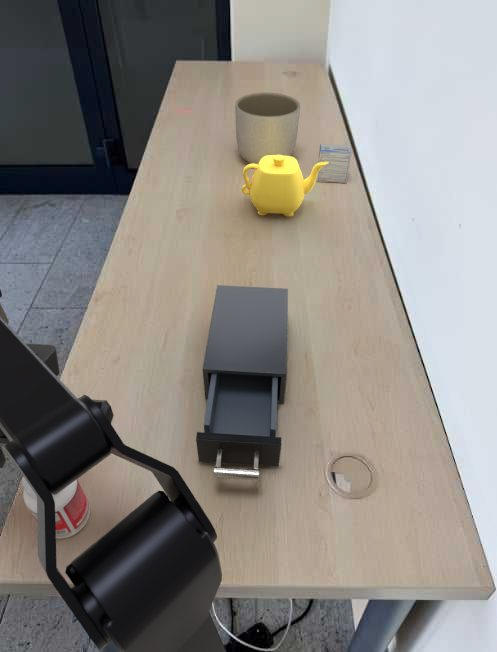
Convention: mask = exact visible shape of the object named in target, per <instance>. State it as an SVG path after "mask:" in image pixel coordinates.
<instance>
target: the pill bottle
mask: <svg viewBox="0 0 497 652" xmlns="http://www.w3.org/2000/svg"><path fill="white" fill-rule="evenodd" d="M21 483H22V484H21V485H22V488H23V492H22V493H23V494H22V495H23V501H24V504H25V506H26V508H27V509H28V510H29V512H30V513H31V514H32V516H33V517H34V519H35V520H36V521H37V496H36V494H35V492H34V491H33V489H32V488H31V486H30V485H29V483H28V482H27V481H26V479H25V478H24V476H23V475H22V479H21ZM52 496H53V499H54V502H55V524H56V539H67V538H70V537H72V536H74V535H76V534H78V533H79V532H80V531H81V530H83V528H84V527H85V526H86V525H87V523H88V521H89V518H90V514H91V505H90V502H89V500H88V498H87V496H86V494H85V492H84V489H83V487H82V486H81V484H80V482H79V480H78V479H76V480H75V481H74V482H72V483H71V484H70V485H68V486H67V487H66V488H64V489H63V490H61V491H60V492H59V493H57V494H56V495H53V494H52Z"/></svg>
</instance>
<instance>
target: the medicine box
mask: <svg viewBox="0 0 497 652" xmlns="http://www.w3.org/2000/svg"><path fill="white" fill-rule="evenodd" d="M351 158H352V147H351V145H349V144H331V143H330V144H329V143H327V144H326V143H321V144H319V151H318V161H317V163H320V162H329V163H328V164H326V165H325V166H323V167H322V168H321V169H320V171H319V172H318V175H317V178H316V182H319V183H320V182H321V183H341V184H347V182H348V176H349V169H350V164H351Z"/></svg>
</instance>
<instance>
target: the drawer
mask: <svg viewBox="0 0 497 652" xmlns="http://www.w3.org/2000/svg"><path fill="white" fill-rule="evenodd" d="M277 389H278V377H275V376H258V375H240V374H223V373H212V375H211V381H210V388H209V394H208V400H206V401H207V402H206V407H205V408H206V409H205V413H204V420H203V421H204V423H203V432H201V431H197V432H196V437H195V442H196V443H195V444H196V451H197V452H196V453H197V459H198V460H197V461H198V462H199V463H212V464H213V463H214V464H215V466H214V467H213V469H212V471H213V472H212V478H214V479H226V480H227V479H228V480H240V481H241V480H243V481H257V482H259V481H260V469H259V467H273V468H279V467H280V458H281V450H282V437H281V436H277V422H278V420H277V419H278V404H277ZM222 464H228V465H243V466H253V468H243V467H225V466H222Z"/></svg>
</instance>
